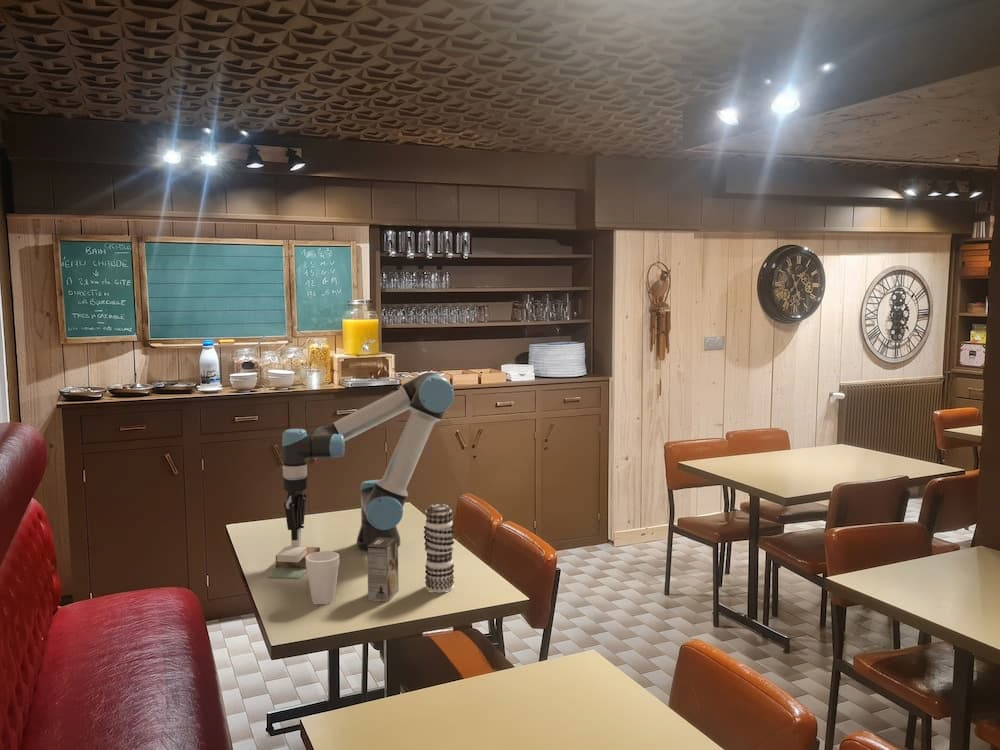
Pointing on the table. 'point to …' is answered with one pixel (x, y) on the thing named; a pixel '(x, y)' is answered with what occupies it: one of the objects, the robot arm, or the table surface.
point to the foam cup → (322, 575)
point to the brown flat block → (301, 563)
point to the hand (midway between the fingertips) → (296, 548)
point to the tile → (291, 554)
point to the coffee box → (382, 569)
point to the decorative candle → (439, 548)
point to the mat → (288, 573)
